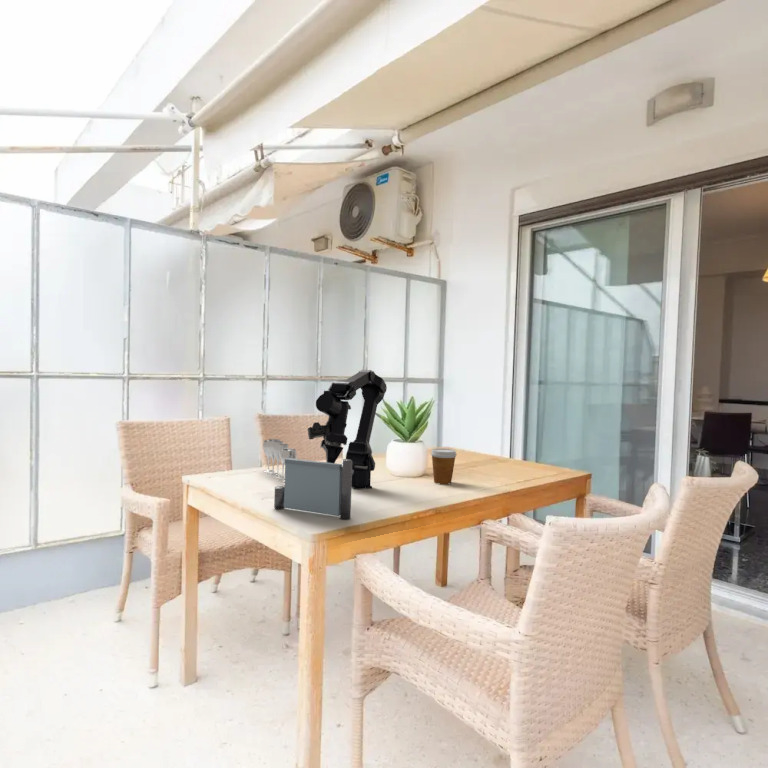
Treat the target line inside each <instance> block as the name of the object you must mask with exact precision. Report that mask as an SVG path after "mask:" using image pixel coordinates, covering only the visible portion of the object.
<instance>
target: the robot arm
mask: <svg viewBox="0 0 768 768" xmlns="http://www.w3.org/2000/svg"><path fill="white" fill-rule="evenodd" d="M359 389H361V395H362V397H363V405H362V410H361V415H360V418H359V423H358V427H357V433H356V437H355V440H353V441H349V443H348V448H347V451H346V453H345V459H350V460H352V485H351V488H353V489H354V490H358V489H360V490H361V489H372V488H373V486H372V485H371V479H372V478H371V477H372V476H371V475H372V471H375V468H376V461H375V459H374V457H373V455H372V454H373V450H372V448H371V447H372V446H371V444H370V441H371V437H372V432H373V428H374V427H373V426H374V422H375V417H376V414H377V408H378V404H380V403H381V402H382V401H383V399H384V397H385V394H386V392H387V389H388V388H387V383H386V382H385V380H384V379H383V378H382V377H381V376H379V375H377V374H376V373H375V371H374V370H371V369H366V370H365V369H361V370H359V371H358V372H357V373H355V374H353V375H351V376H350V377H348V378H347V379H340V380H339V379H338V380H334V381H332V383H331V385H330V386H329V387H328V389H325V390H324V389H323V390H324V391H323V393H322V394H320V395H319V397H317V398H316V400H315V407H316V409H317V410H318V411H320V413H322V414H325V415H327V416H328V418H327V421H326V423H325V424H324V425H323V424H320V422H319V421H318V422H316V421H315V422H313V424H312V426H310V427H307V434H308V439H309V440H313V439H317V438H322V440H321V441H320V448H322V449H323V450H324V451H325V459H326V461H325V462H328V463H336V461H337V459H338V458H339V456H340V455H341V453H342V452H343V450H344V447H342V445H343V446H346V445H347V442H348V437H347V436H346V434H345V433H346V428H347V419H348V414H349V410H352V407H351V405H350V402H349V401H350V400H352V399H353V398H355V396H356V395H357V391H358V390H359Z"/></svg>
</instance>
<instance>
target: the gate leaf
mask: <svg viewBox="0 0 768 768" xmlns="http://www.w3.org/2000/svg"><path fill="white" fill-rule="evenodd" d="M341 477H342V463H337V462H335V463H328V462H326V461H319V460H317V461H316V460H308V459H298V458H297V459H291V458H287V459H285V464H284V479H285V481H284V482H285V485H284V487H285V492H284V509H290V510H295V511H303V512H309V513H316V514H322V515H329V516H334V517H335V516H336V517H340V510H341Z"/></svg>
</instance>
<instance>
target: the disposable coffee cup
mask: <svg viewBox="0 0 768 768" xmlns="http://www.w3.org/2000/svg"><path fill="white" fill-rule="evenodd" d="M430 455H431V461H432V472H433V475H432V476H433V482H434V483H435V484H437V483H440V484H439V485H449V484H448V483H451V484H452V481H453V473H454V469H455V460H456V458H457V451H456V450H455V449H453V448H451V449H450V448H433V449H432V450H431V452H430Z"/></svg>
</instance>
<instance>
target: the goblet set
mask: <svg viewBox="0 0 768 768" xmlns="http://www.w3.org/2000/svg"><path fill="white" fill-rule="evenodd" d="M262 450H263V452H264V454H265V456H266V457H267V469H265V470H263V471H264V472H263V473H268V474H270V475H269V476H274V477H281V476H282V478H278V479H279V480H285V478H284V472H285V459H287V458H291V459H298V454H297V453H298V452H297V449H296V448H289V444H288V443H284V441H282V440H281V439H279V438H278V439H277V438H275V439H273V438H269V439H267V440H266V439H265V440H263V442H262ZM270 459H271V460H270ZM275 460H276V463H277V465H276V466H277V470H276V471H277V472H275V468H274V467H275ZM270 461H272V469H270ZM280 462H281V465H282V467H281V468H282V471H281V473H282V475H278V473H279V467H280V466H279V465H280ZM276 474H277V475H276ZM283 482H284V483H285V481H283Z"/></svg>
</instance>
